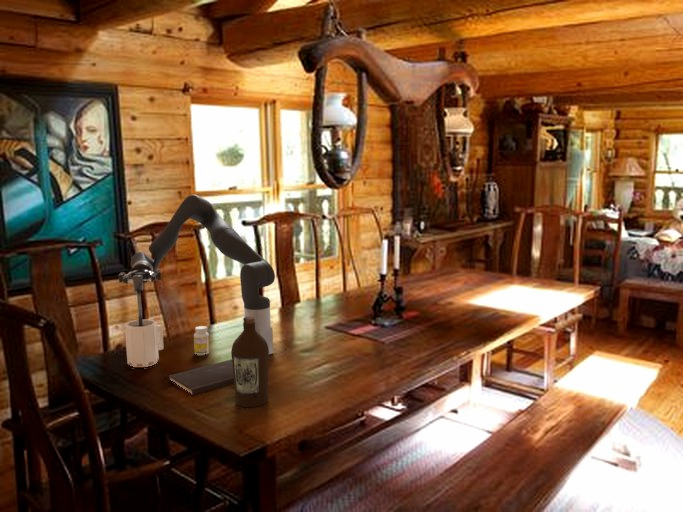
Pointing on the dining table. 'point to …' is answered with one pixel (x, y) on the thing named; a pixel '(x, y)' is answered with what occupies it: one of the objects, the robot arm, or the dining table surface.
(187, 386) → the hardcover book
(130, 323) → the octagonal white mug
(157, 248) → the robot arm
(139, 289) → the plunger
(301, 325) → the dining table surface
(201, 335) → the supplement bottle
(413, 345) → the dining table surface
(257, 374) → the olive oil
